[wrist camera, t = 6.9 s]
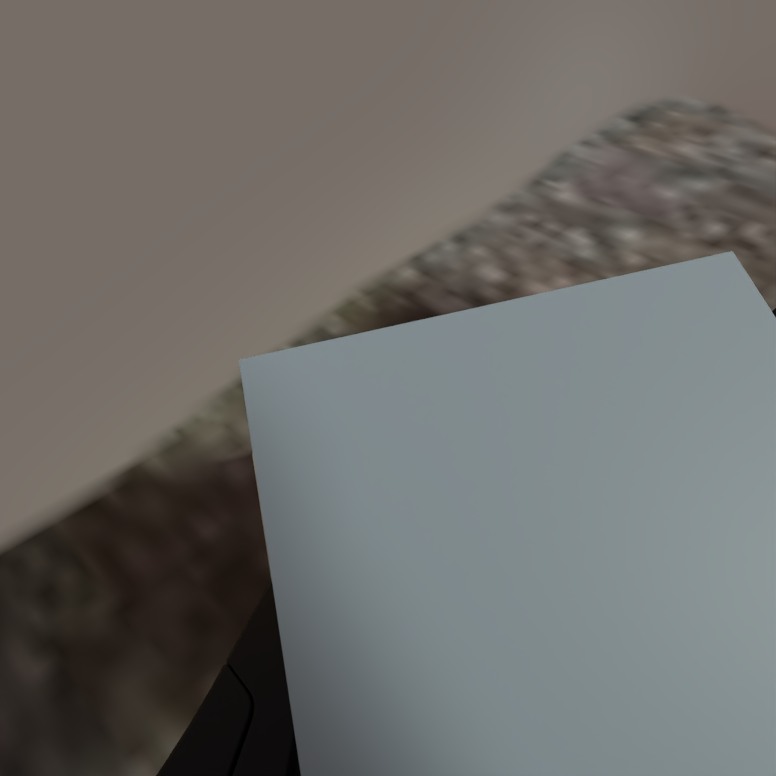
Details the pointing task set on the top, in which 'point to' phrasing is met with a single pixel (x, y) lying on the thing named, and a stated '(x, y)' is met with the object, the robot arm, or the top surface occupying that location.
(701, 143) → the top surface
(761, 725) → the post
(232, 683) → the robot arm
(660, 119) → the top surface
